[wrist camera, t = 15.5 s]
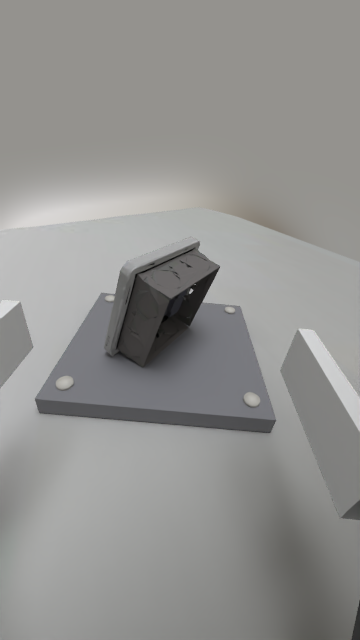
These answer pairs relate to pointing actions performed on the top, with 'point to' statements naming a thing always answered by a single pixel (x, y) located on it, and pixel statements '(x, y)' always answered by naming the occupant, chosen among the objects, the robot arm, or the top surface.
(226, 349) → the mounting plate
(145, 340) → the electrical switch
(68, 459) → the top surface
